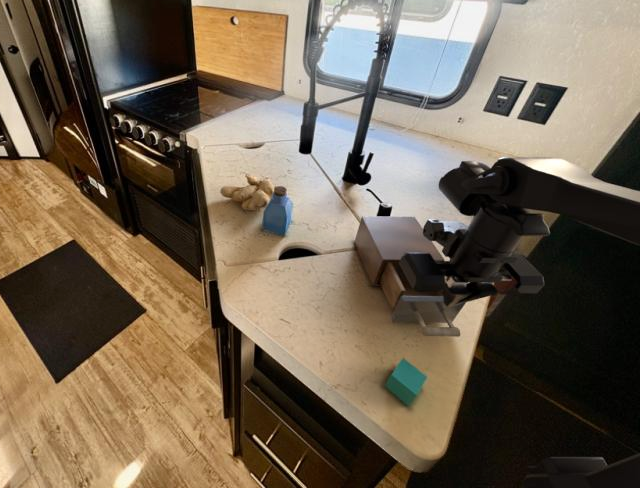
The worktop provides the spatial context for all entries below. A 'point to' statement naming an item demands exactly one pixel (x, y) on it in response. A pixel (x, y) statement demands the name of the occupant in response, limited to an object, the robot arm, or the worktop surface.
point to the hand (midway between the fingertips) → (447, 304)
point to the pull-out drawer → (417, 304)
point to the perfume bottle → (278, 212)
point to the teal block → (406, 382)
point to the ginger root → (251, 193)
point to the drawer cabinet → (390, 242)
